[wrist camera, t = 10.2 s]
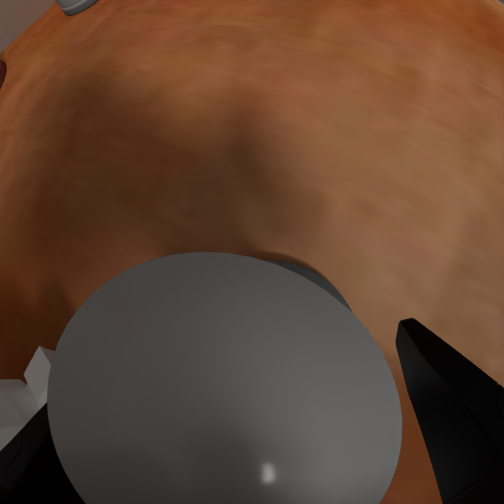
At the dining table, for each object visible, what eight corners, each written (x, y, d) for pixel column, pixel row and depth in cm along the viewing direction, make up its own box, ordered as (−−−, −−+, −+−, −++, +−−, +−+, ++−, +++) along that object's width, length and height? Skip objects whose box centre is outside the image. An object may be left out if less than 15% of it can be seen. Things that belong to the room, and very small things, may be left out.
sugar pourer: (276, 423, 15) (242, 606, 3) (196, 363, 17) (12, 426, 4) (338, 344, 16) (470, 395, 3) (256, 284, 17) (170, 180, 5)
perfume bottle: (75, 526, 13) (151, 420, 16) (-30, 533, 6) (21, 403, 9) (20, 444, 18) (79, 340, 21) (-71, 425, 10) (-23, 291, 13)
